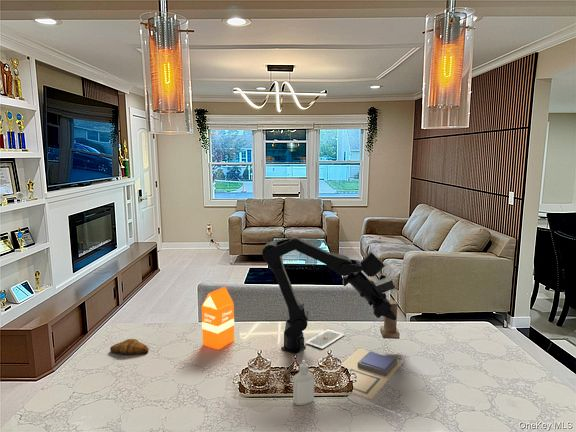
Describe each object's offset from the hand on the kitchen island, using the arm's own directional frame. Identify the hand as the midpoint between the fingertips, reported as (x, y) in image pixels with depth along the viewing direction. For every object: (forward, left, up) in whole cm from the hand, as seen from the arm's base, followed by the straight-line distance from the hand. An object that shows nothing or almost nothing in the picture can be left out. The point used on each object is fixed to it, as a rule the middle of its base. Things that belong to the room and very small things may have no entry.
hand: (394, 317), depth 138 cm
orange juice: (-54, -31, -13) cm, 64 cm away
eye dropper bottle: (-9, -43, -13) cm, 46 cm away
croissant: (-74, -54, -13) cm, 93 cm away
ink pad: (0, -13, -12) cm, 18 cm away
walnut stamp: (-1, -1, -7) cm, 7 cm away
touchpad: (-24, -6, -13) cm, 28 cm away
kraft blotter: (-2, -18, -12) cm, 22 cm away
